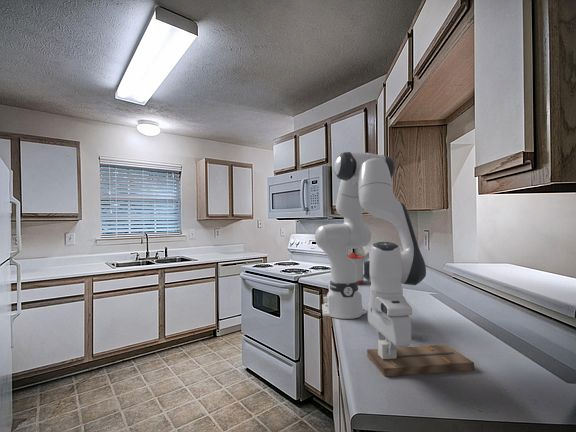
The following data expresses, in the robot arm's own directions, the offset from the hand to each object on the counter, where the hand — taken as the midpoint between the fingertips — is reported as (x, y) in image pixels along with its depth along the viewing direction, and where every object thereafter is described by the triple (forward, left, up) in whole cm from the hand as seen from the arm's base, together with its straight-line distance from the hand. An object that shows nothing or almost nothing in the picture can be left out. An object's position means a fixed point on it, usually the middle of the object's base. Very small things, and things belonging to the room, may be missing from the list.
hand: (387, 350), depth 86 cm
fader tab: (0, 0, -2) cm, 2 cm away
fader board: (0, +9, -4) cm, 10 cm away
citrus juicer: (-111, +28, -4) cm, 115 cm away
